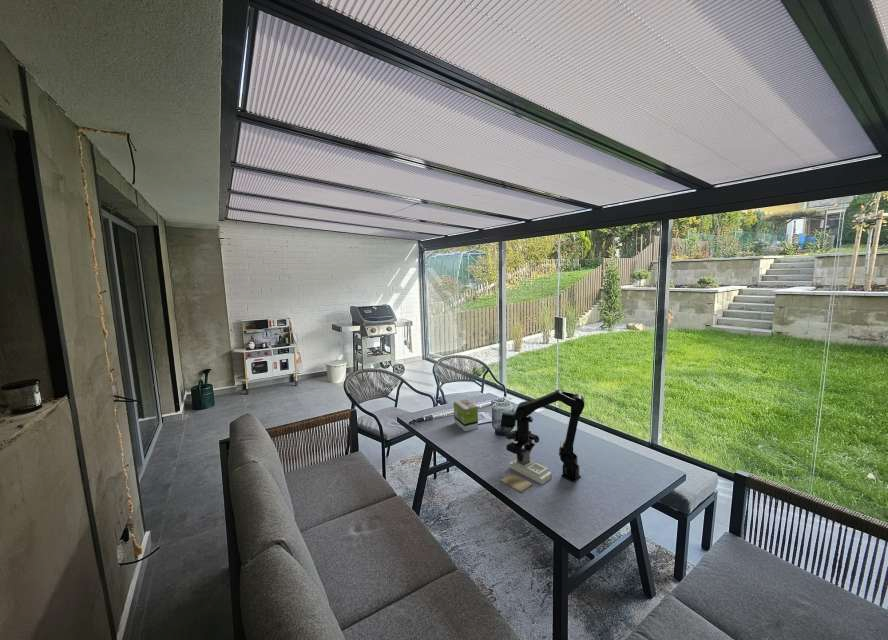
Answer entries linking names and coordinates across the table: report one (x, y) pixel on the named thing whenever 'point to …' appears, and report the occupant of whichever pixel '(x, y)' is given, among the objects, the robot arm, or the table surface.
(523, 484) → the cork pad
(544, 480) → the power strip
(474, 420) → the tea box
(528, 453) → the block
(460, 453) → the table surface
